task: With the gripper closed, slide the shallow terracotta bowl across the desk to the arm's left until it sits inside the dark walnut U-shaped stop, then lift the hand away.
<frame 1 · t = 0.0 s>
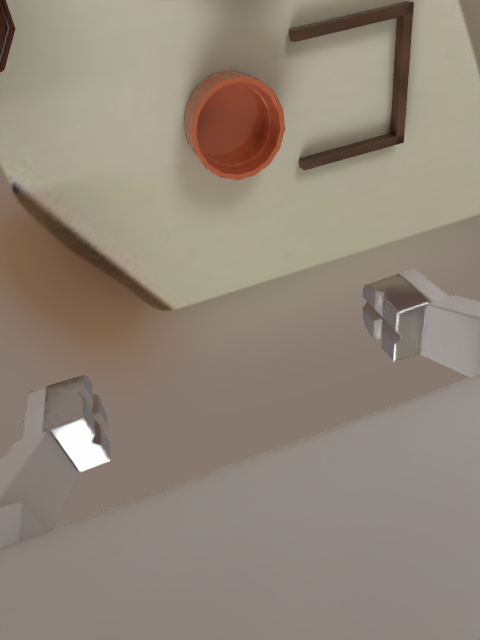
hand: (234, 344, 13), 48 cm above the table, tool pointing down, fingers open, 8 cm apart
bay: (344, 91, 58), on the table
bowl: (227, 121, 56), on the table
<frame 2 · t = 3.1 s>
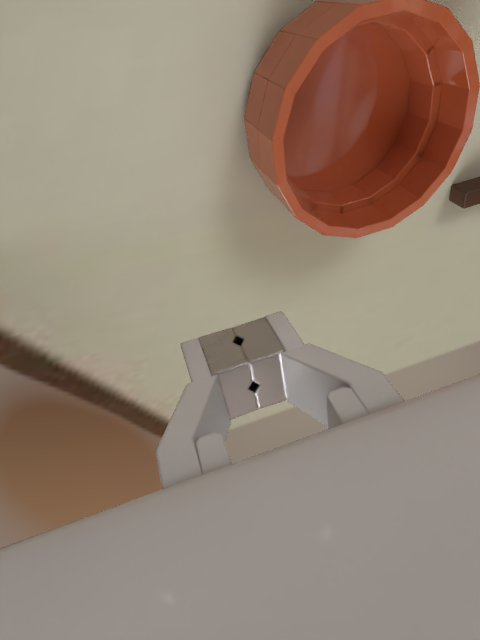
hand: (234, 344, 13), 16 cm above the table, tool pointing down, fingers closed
bowl: (333, 112, 26), on the table
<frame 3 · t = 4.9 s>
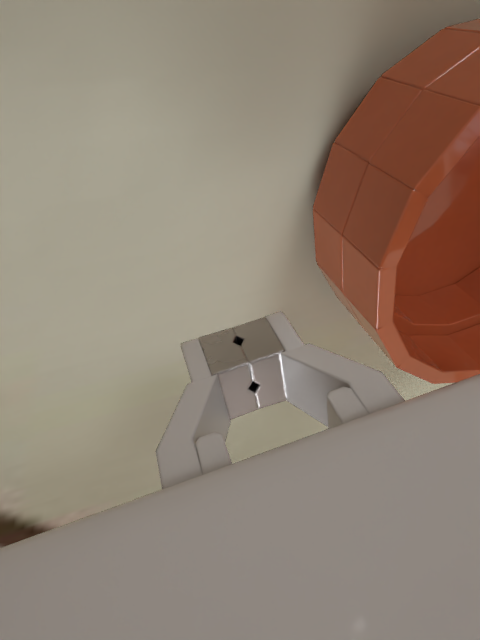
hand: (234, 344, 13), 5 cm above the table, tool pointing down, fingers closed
bowl: (439, 188, 17), on the table
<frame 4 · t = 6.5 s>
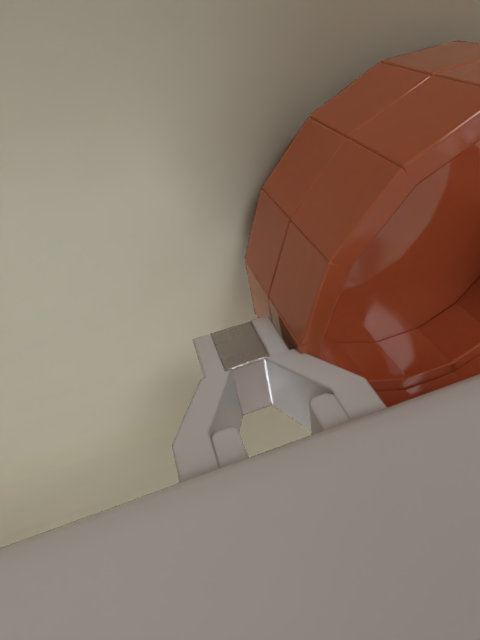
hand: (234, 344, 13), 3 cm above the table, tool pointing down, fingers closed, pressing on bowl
bowl: (394, 230, 16), on the table, touching gripper
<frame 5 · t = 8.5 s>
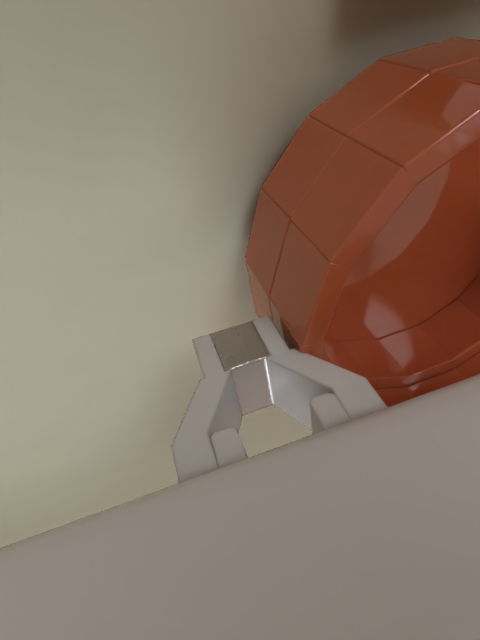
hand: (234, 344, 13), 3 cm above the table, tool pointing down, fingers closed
bowl: (394, 227, 16), on the table, touching gripper
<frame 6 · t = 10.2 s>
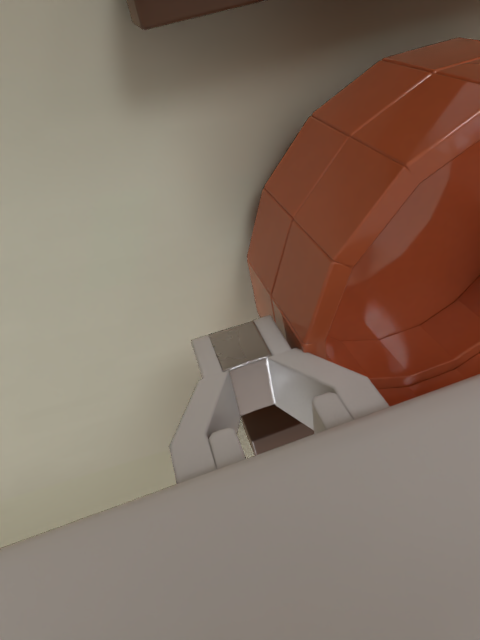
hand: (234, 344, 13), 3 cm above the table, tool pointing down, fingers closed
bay: (396, 216, 15), on the table
bowl: (395, 227, 16), on the table, touching gripper
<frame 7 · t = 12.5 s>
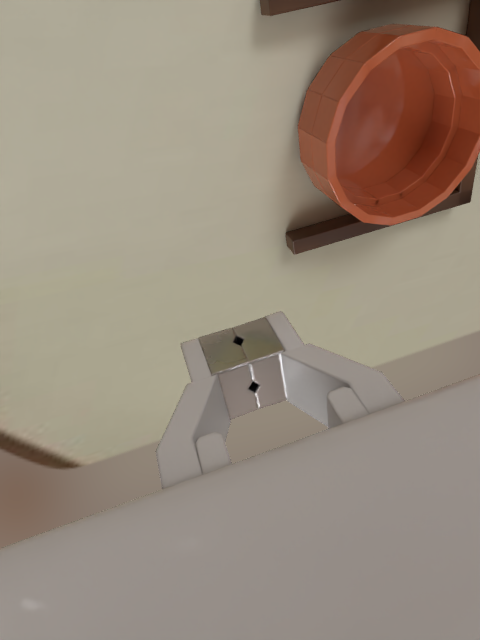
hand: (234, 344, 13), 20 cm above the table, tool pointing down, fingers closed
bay: (369, 114, 31), on the table
bowl: (369, 121, 31), on the table
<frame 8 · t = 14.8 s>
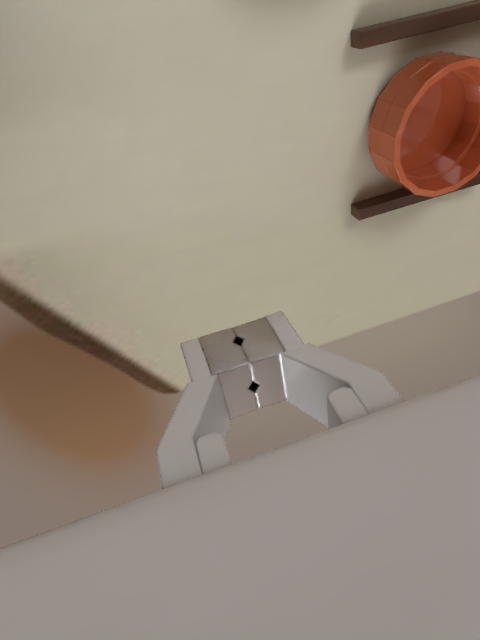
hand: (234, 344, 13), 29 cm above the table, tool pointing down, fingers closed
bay: (418, 115, 42), on the table
bowl: (418, 120, 42), on the table
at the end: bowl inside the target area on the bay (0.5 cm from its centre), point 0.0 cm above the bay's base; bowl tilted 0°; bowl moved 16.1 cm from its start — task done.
